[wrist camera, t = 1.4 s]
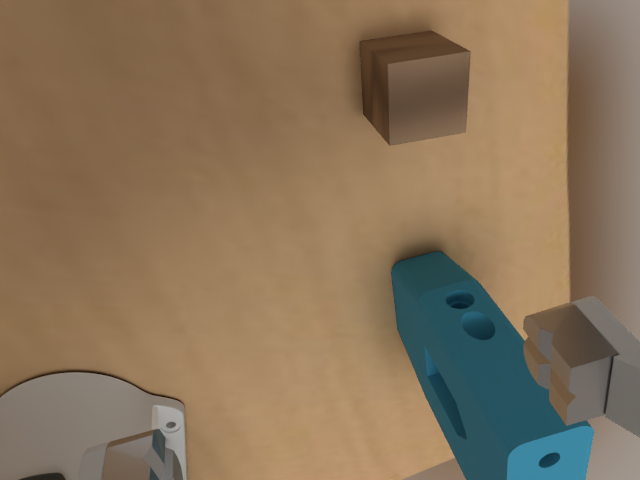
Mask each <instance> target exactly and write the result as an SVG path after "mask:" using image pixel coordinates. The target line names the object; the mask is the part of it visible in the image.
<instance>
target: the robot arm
mask: <svg viewBox="0 0 640 480" xmlns="http://www.w3.org/2000/svg"><path fill="white" fill-rule="evenodd" d="M523 329H524V331H525V332H526V334H527V335H528V338H527V339H526V341H525V342H524V343H523V347H524V357H525V360H526V363H527V367H528V369H529V371H530V373H531V375H532V376H533V378H534V379H535V381H536V382H537V384H538V385H540V386H542V387H544V388H546V389H548V390H549V401H550V403H551V404H552V406H553V407H554V409H555V410H556V412H557V413H558V414H559V416H560V417H561V419H562V420H563V422H564V423H565V425H566V426H567V425H571V424H574V423H578V422H581V421H585V420H588V419H591V418H595V417H599V416H602V415H605V417H606V418H608V419H609V420H611V421H613V422H615V423H616V424H618V425H620V426H621V427H623V428H625V429H626V430H628V431H630V432H632V433H633V434H635V435H636V436H638V437H640V341H639V340H638V339H637V338H636V337H635V336H634V335H633V334H632V333H631V332H630V331H629V330H628V329H627V328H626V327H625V326H624V325H623V324H622V323H621V322H620V321H619V320H618V319H617V318H616V317H615V316H614V315H613V314H612V313H611V312H610V311H609V310H608V309H607V308H606V307H605V306H604V305H603V304H602V303H601V301H599V299H598V298H596V297H593V296H590V297H587V298H584V299H581V300H577V301H574V302H571V303H569V304H568V303H566V304H563V305H560V306H557V307H554V308H550V309H547V310H544V311H541V312H538V313H535V314H531V315H528V316H526V317H525V319H524V324H523ZM0 480H188V477H187V450H186V423H185V407H184V405H183V404H182V403H181V402H179V401H177V400H174V399H170V398H165V397H160V396H153V395H150V394H148V393H146V392H144V391H142V390H140V389H138V388H137V387H135V386H133V385H131V384H129V383H127V382H125V381H122V380H119V379H116V378H113V377H110V376H105V375H100V374H94V373H80V372H73V373H59V374H52V375H47V376H43V377H39V378H36V379H33V380H30V381H27V382H25V383H22V384H20V385H18V386H16V387H15V388H13V389H11V390H10V391H8V392H7V393H5V394H4V395H3V396H2V397H0Z"/></svg>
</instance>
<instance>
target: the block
mask: <svg viewBox="0 0 640 480" xmlns="http://www.w3.org/2000/svg"><path fill="white" fill-rule="evenodd" d="M391 275H392V284H393V293H394V302H395V311H396V320H397V328H398V331H399V334H400V336H401V339H402V341H403V343H404V346H405V348H406V351H407V353H408V356H409V358H410V360H411V363H412V365H413V368H414V370H415V372H416V375H417V377H418V380H419V382H420V385H421V387H422V389H423V392H424V394H425V397H426V399H427V401H428V403H429V405H430V407H431V409H432V411H433V413H434V415H435V417H436V419H437V421H438V423H439V425H440V427H441V429H442V431H443V433H444V435H445V437H446V439H447V441H448V443H449V445H450V447H451V450H452V452H453V454H454V456H455V458H456V460H457V462H458V464H459V466H460V468H461V470H462V472H463V474H464V476H465V478H466V480H585V478H586V473H587V467H588V462H589V456H590V450H591V446H592V440H593V435H594V430H593V428H592V427H591V426H590V424H588V422H587V421H586V420H585V421H581V422H578V423H574V424H571V425H567V426H566V425H565V423H564V422H563V420H562V419H561V417H560V416H559V414H558V413H557V412H556V410H555V409H554V407H553V406H552V404H551V403H550V401H549V390H548V389H546V388H544V387H542V386H540V385H538V384H537V382H536V381H535V379H534V378H533V376H532V375H531V373H530V371H529V369H528V367H527V363H526V360H525V357H524V347H523V343H524V342H525V341H524V339H523V338H522V337H521V336H520V334H519V333H518V332H517V330H516V329H515V328H514V327H513V325H512V324H511V323H510V321H509V320H508V319H507V318H506V316H505V315H504V314H503V312H502V311H501V310H500V309H499V307H498V306H497V305H496V303H495V302H494V301H493V300H492V298H491V297H490V296H489V294H488V293H487V292H486V291H485V289H484V288H483V287H482V285H481V284H480V283H479V282H478V281H477V280H476V279H474V278H473V277H472V276H471V275H469V274H468V273H467V272H466V271H465V270H463V269H462V268H461V267H460V266H459V265H457V264H456V263H455V262H454V261H453V260H451V259H450V258H449V257H448V256H447V255H445V254H444V253H443V252H439V251H437V252H432V253H429V254H425V255H421V256H417V257H413V258H410V259H406V260H402V261H399V262H398V263H396V264H395V265H394V266H393V268H392V270H391Z"/></svg>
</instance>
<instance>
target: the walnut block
mask: <svg viewBox="0 0 640 480" xmlns="http://www.w3.org/2000/svg"><path fill="white" fill-rule="evenodd" d="M360 58H361V78H362V98H363V114H364V116H365V117H366V118H367V119H368V120H369V122H370V123H371V124H372V125H373V126H374V128H375V129H376V130H377V131H378V132H379V133H380V135H381V136H382V137H383V138H384V139H385V141H386V142H387V143H388V144H389V145H390V146H391V145H397V144H402V143H408V142H414V141H420V140H425V139H431V138H437V137H443V136H448V135H454V134H460V133H466V120H467V103H468V86H469V69H470V51H469V50H467V49H465V48H463V47H461V46H460V45H458V44H456V43H454V42H452V41H450V40H448V39H446V38H445V37H443V36H441V35H439V34H437V33H435V32H433V31H426V32H419V33H412V34H405V35H398V36H392V37H385V38H378V39H371V40H365V41H360Z"/></svg>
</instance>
